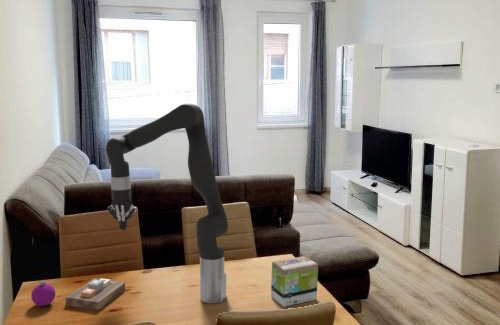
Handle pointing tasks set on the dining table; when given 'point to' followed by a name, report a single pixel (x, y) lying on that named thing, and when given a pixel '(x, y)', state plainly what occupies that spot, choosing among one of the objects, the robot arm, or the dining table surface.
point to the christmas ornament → (43, 294)
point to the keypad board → (97, 300)
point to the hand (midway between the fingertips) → (123, 229)
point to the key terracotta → (89, 292)
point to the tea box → (294, 281)
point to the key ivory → (105, 282)
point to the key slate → (96, 285)
